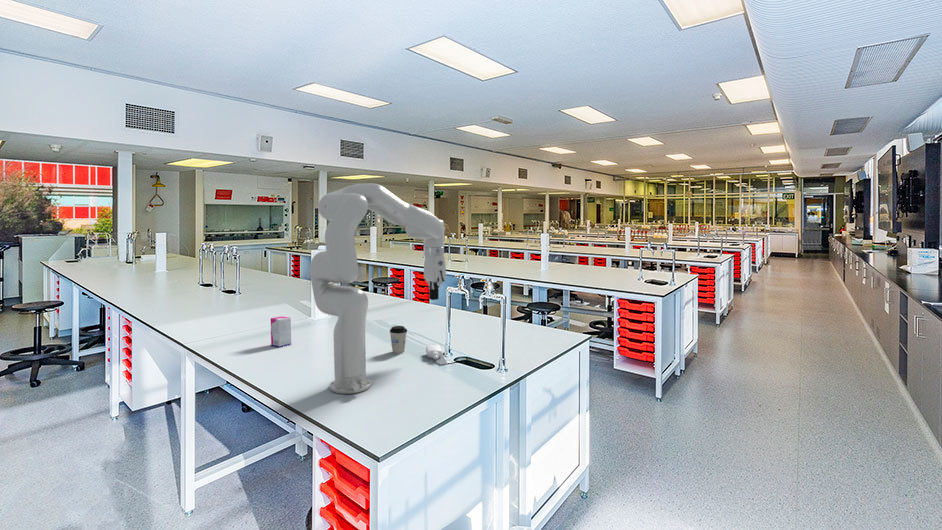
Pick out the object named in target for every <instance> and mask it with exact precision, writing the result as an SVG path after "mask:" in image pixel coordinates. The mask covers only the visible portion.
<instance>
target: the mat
mask: <svg viewBox="0 0 942 530" xmlns="http://www.w3.org/2000/svg"><path fill="white" fill-rule="evenodd" d="M443 353H444V352H442V356H441V357H439V358H438V359H433V358H430V357H428V356H427V355H425V356H424V357H425V358H426V359H428V360H430V361H431V360H432V362H433V361H434V362H433V363H435V362H436V363H435V364H437V363H438V364H439V366H440V365H442V366H445V364H447V362H446V360H445V359H444V356H443ZM438 364H437V365H438ZM447 365H448V364H447Z"/></svg>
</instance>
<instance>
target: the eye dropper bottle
mask: <svg viewBox="0 0 942 530" xmlns="http://www.w3.org/2000/svg"><path fill="white" fill-rule="evenodd" d="M425 353H426V356H428V357H430V358H433V359H438V358H439V357H441V356H442V353H443V350H442V348H441V345H438V344H428V345H426V347H425Z"/></svg>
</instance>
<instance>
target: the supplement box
mask: <svg viewBox="0 0 942 530" xmlns="http://www.w3.org/2000/svg"><path fill="white" fill-rule="evenodd" d="M291 319H292V318H291V317H289V316H284V315H283V316H282V315H281V316H277V317H276V316H275V317H271V318H270V345H271V347H275V348H279V349H280V348H283V346H284V347H287V345H288V346H291V345H292V322H291V321H292V320H291ZM290 344H291V345H290Z"/></svg>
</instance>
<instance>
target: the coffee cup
mask: <svg viewBox="0 0 942 530" xmlns="http://www.w3.org/2000/svg"><path fill="white" fill-rule="evenodd" d="M407 332H408V328H405V326H403V325H394V326H391V329H389V334H390V340H391V349H392V354H394V353H397V354H396V355H399V354H398V353H402V354H404V353H405V351H406V342H407ZM403 352H404V353H403Z"/></svg>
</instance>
